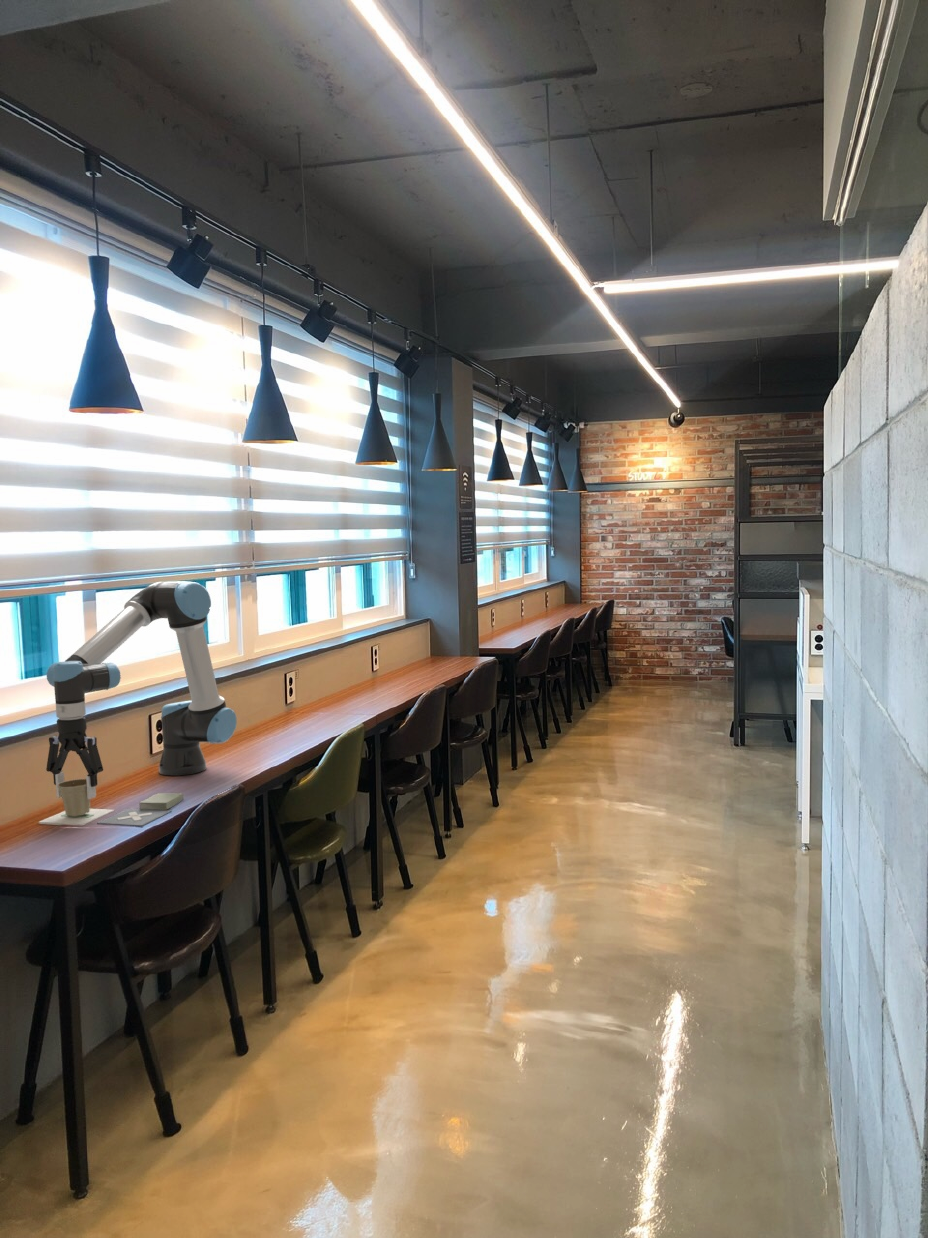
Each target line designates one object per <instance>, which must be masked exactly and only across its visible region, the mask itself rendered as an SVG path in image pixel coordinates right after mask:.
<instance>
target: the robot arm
mask: <svg viewBox="0 0 928 1238" xmlns="http://www.w3.org/2000/svg"><path fill="white" fill-rule="evenodd" d="M211 607H212V600H211V596H210V594H209V591H208V590H207V588H206V587H205V586H204V585H202V584H200V583H199V582H195V581H191V580H190V581H189V580H188V581H187V580H183V581H158V582H155V583H152V584H149V585H148V586H146V587H144V588H143V589H142V590H140V591H139V592H137V593H136V594H135V595H134V596H132V597H131V598H130V599H129V600H128V601H126V602H125V604H124V606H123V608H124V609H122V610H121V611H120V612H119V613H118V614H117V615H115V617H113V618H112V619H111V620H109V622H108V623H106V624H105V625H104V626H103V627H102V628H101V629H99V631H97V632H96V633H95V634H94V635H93V636H92V637H91V638H89V639H88V640H87V641H86V642H85V643H84V644H82V645H81V647H79V648H78V649H77V650H76V651H75V652H74V653H72V654H71V655H70V656H68V657H67V659H65V660H64V661H58V662H53V663H51V665H49V667H48V668H47V671H46V680H47V682H48V684H49V685H50V686H51V687H53V688H54V697H55V698H54V699H55V700H54V701H55V715H56V718H57V720H56V729H57V730H56V731H57V733H58V735H54V736H51V737H49V738H48V744H49V747H48V756H47V762H46V768H45V770H46V772H50V773H52V774H53V775H52V776H53V785H54V786H55V790H56V798H57V799H59V798H62V795H61V792H60V790H59V788H58V787H57V785H58V784H59V783H62V782H65V781H66V780H65V772H63V771H64V770H63V767H64V765H65V763H66V761H67V757H68V754H69V752H71V751H72V752H75V753H76V755H78V756H79V759H80V761H81V762H82V764H83V766H84V768H85V770H86V773H87V775H86V776H85V779H86V782H87V797H88V799H90V800H91V799H94V798H96V797H97V791H96V790H97V789H96V788H97V787H96V786H98V773H101V772H104V767H103V763H102V761H101V756H100V753H99V749H98V745H97V744H98V741H97V737H96V736H92V737H91V736H88V735H87V734H86V731H87V718H86V717H85V715H86V714H87V712H86V711H87V710H86V700H85V698H86V696H85V694H89V693H92V692H93V693H94V692H99V691H108V690H110V689H113V688H117V686H119V684H120V682H121V679H122V677H121V671H120V668H119V667H118V665H116V664H115V663H114V662H104V661H105V660H107V659H108V657H110V656H111V655H112V654H113V653H114V652H116V651H117V649H118V648H120V647H121V646H122V645H123V644H124V643H125V642H127V641H128V639H130V638H131V637H132V636H133V635H134V634H135V633H136V632H138V630H139V629H140V628H142V627H148V626H149V625H150V624H151V623H152V622H154V621H156V620H161V619H167V621H168V625H169V629H171V630H173V631H175V635H176V638H177V643H178V646H179V652H180V655H181V659H182V664H183V668H184V673H185V677H186V681H187V682H186V683H187V685H188V686H187V687H188V690H189V695H190V698H191V700H184V701H179V702H172V703H167V704H165V705H163V706H162V707H161V717H160V719H161V721H160V722H161V730H162V731H161V732H162V745H163V749H162V753H161V754H162V755H161V758H160V762H159V765H158V772H159V774H160V775H163V776H171V777H172V776H188V775H192V774H198V773H201V772H203V771H205V770H206V769H207V762H206V759H205V756H204V753H203V751H202V749H201V745H200V743H209V744H223V743H226V742H227V741H229V740H231V738H232V737H233V735H234V733H235V731H236V727H237V721H238V719H237V714H236V712H235V711H234V710H233V709H232V708H231V707H227V704H226V700H225V697H223V696H221V695H219V690H218V686H217V681H216V676H215V672H214V669H213V663H212V659H211V653H210V651H209V645H208V642H207V636H206V631H205V623H206V622H207V620H208V619H207V616H208V614H209V613H210V612H211V611H210V610H211V609H210V608H211ZM60 744H61V745H60Z"/></svg>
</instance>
